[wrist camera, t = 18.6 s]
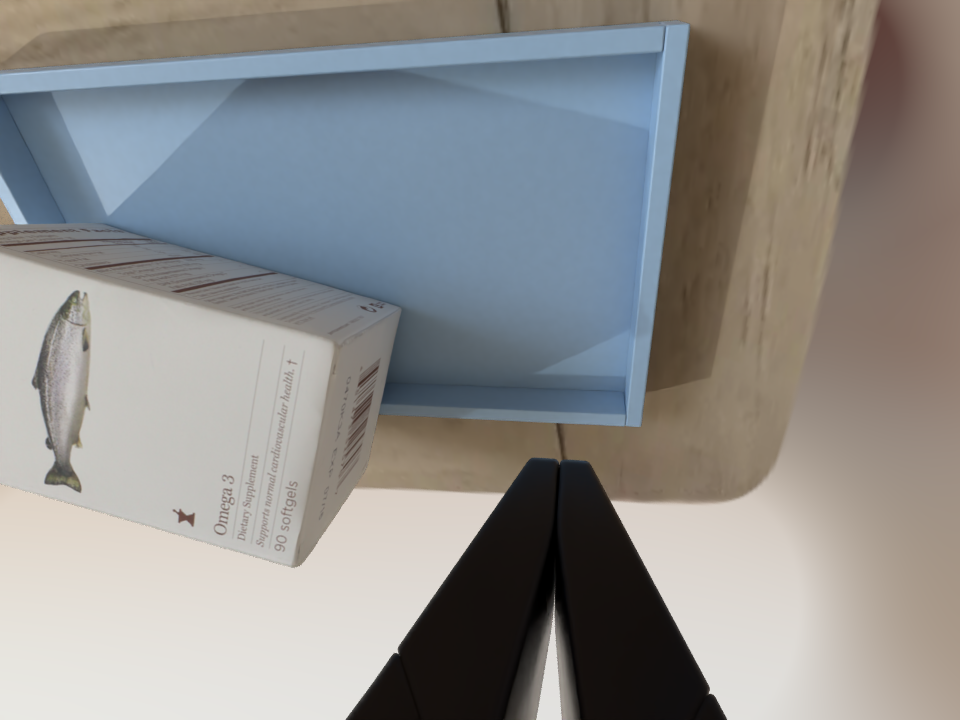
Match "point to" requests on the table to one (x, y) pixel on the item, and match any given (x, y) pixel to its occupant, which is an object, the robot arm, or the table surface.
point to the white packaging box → (185, 387)
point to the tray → (399, 193)
